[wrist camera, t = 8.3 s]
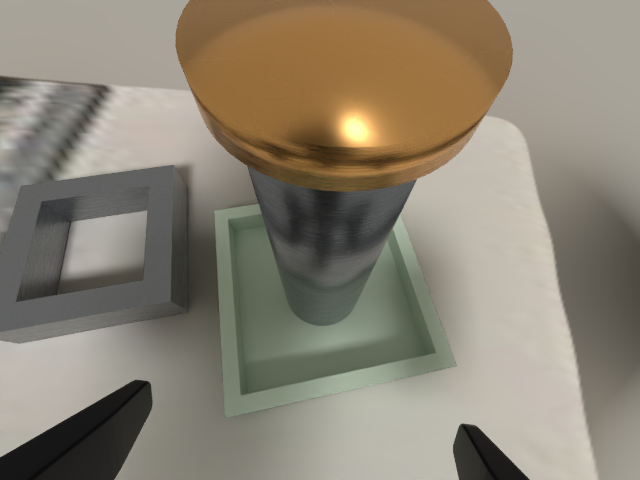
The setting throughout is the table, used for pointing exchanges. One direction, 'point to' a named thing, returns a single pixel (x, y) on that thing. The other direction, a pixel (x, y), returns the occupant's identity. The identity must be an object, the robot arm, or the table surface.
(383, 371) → the tray
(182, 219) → the frame
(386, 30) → the grey and gold cylinder
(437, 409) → the table surface
